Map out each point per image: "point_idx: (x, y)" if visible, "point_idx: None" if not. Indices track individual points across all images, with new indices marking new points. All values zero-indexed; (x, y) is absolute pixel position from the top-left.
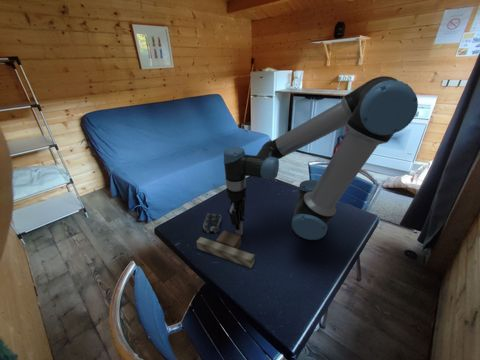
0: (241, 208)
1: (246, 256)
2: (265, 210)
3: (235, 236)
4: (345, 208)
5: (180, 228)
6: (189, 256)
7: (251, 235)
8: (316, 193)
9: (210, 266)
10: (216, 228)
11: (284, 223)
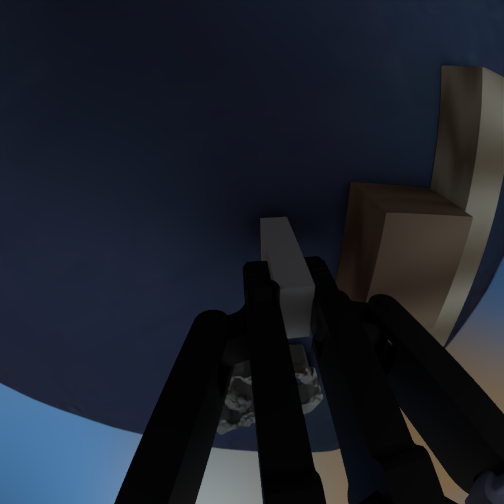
0: (291, 456)
1: (500, 113)
2: None
3: (397, 247)
4: None
5: (316, 431)
6: None
7: (236, 151)
8: None
9: (483, 257)
10: (300, 365)
11: (25, 18)
